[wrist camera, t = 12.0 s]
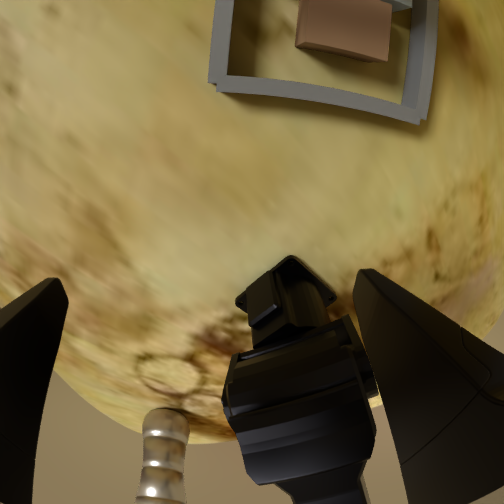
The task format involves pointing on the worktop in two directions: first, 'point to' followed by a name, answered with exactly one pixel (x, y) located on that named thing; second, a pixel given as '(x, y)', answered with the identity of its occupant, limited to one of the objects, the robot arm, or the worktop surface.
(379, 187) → the worktop surface
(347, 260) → the worktop surface
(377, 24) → the block
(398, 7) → the grey upright block
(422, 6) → the grey u-shaped bar
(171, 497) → the plastic bottle
